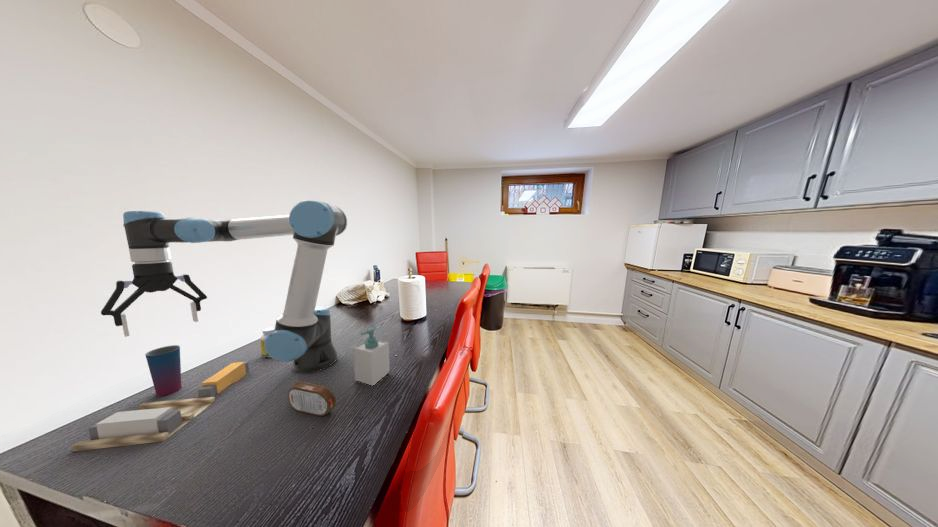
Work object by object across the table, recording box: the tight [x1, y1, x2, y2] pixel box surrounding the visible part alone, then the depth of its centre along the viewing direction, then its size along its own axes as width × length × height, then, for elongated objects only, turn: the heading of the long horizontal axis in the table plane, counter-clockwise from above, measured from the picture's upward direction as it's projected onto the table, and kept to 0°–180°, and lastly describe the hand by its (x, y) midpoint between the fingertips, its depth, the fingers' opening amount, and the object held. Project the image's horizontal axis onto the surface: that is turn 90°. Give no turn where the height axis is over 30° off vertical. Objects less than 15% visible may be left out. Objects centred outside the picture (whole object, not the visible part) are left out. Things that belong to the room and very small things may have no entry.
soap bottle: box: [353, 326, 391, 387], centre depth 87 cm, size 9×9×19 cm
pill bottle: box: [260, 326, 275, 358], centre depth 103 cm, size 6×6×12 cm
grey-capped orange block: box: [197, 361, 250, 398], centre depth 82 cm, size 16×4×5 cm, turn 10°
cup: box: [144, 344, 182, 397], centre depth 77 cm, size 7×7×15 cm
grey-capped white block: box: [88, 407, 182, 440], centre depth 61 cm, size 16×4×5 cm, turn 100°
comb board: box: [71, 396, 216, 452], centre depth 65 cm, size 18×15×2 cm
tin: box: [287, 381, 337, 417], centre depth 70 cm, size 15×3×8 cm, turn 77°
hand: (163, 327), depth 76 cm, fingers open, 13 cm apart
